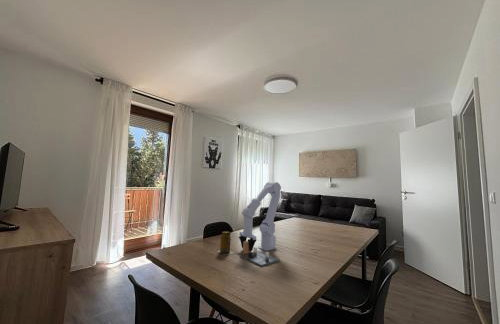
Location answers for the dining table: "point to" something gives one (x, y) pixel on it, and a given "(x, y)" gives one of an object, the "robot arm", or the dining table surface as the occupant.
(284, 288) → the dining table surface
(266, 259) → the hub plate
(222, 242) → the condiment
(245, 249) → the knob
